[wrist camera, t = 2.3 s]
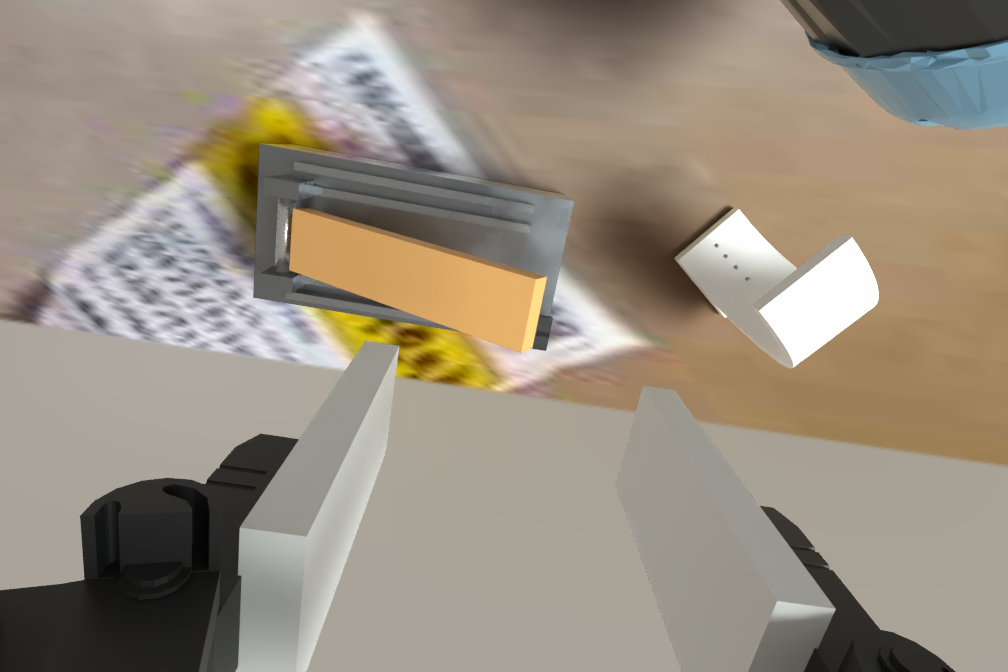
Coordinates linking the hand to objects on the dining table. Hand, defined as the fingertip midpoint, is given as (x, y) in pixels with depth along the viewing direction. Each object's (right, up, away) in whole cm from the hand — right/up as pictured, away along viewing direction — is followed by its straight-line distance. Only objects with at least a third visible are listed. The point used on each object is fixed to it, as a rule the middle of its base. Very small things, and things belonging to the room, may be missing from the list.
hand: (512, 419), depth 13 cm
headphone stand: (+14, +6, +22) cm, 27 cm away
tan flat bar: (-4, +5, +12) cm, 14 cm away
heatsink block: (-5, +8, +21) cm, 23 cm away
